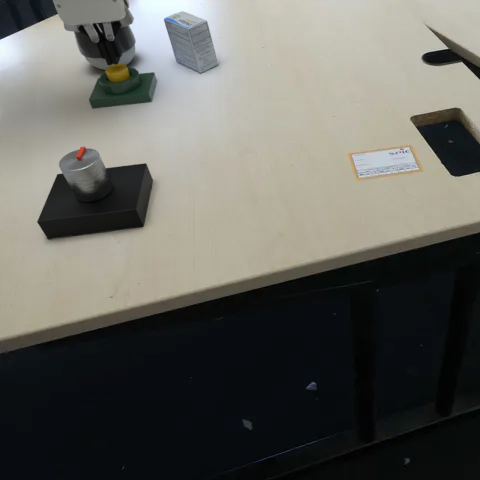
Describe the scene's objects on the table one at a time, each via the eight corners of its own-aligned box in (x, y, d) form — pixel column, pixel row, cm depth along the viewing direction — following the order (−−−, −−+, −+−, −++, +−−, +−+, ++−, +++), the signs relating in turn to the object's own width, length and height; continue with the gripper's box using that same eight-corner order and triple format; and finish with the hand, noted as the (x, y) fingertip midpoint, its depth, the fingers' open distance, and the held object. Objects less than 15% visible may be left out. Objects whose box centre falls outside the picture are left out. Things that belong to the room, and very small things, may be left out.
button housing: (92, 109, 91) (84, 90, 89) (101, 86, 97) (93, 68, 95) (151, 102, 92) (145, 83, 90) (157, 80, 98) (151, 62, 95)
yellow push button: (107, 84, 91) (103, 74, 90) (110, 74, 94) (107, 65, 92) (128, 81, 91) (125, 72, 90) (131, 72, 94) (128, 62, 93)
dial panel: (47, 239, 68) (36, 221, 66) (66, 190, 75) (57, 173, 73) (143, 226, 69) (135, 209, 67) (153, 180, 76) (146, 163, 74)
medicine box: (219, 65, 101) (208, 19, 95) (200, 74, 99) (187, 28, 93) (194, 54, 105) (182, 9, 99) (175, 62, 103) (162, 17, 97)
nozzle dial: (109, 200, 68) (92, 166, 64) (70, 204, 68) (52, 170, 64) (117, 177, 72) (102, 144, 68) (80, 181, 71) (63, 148, 68)
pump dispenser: (121, 79, 99) (88, -6, 88) (76, 72, 101) (39, -11, 91) (153, 55, 106) (126, -26, 95) (110, 49, 108) (79, -30, 98)
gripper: (124, -70, 81) (161, 47, 94) (22, -61, 80) (74, 56, 92) (115, -56, 75) (156, 66, 88) (6, -45, 74) (63, 77, 87)
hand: (114, 61), depth 90 cm, fingers closed
